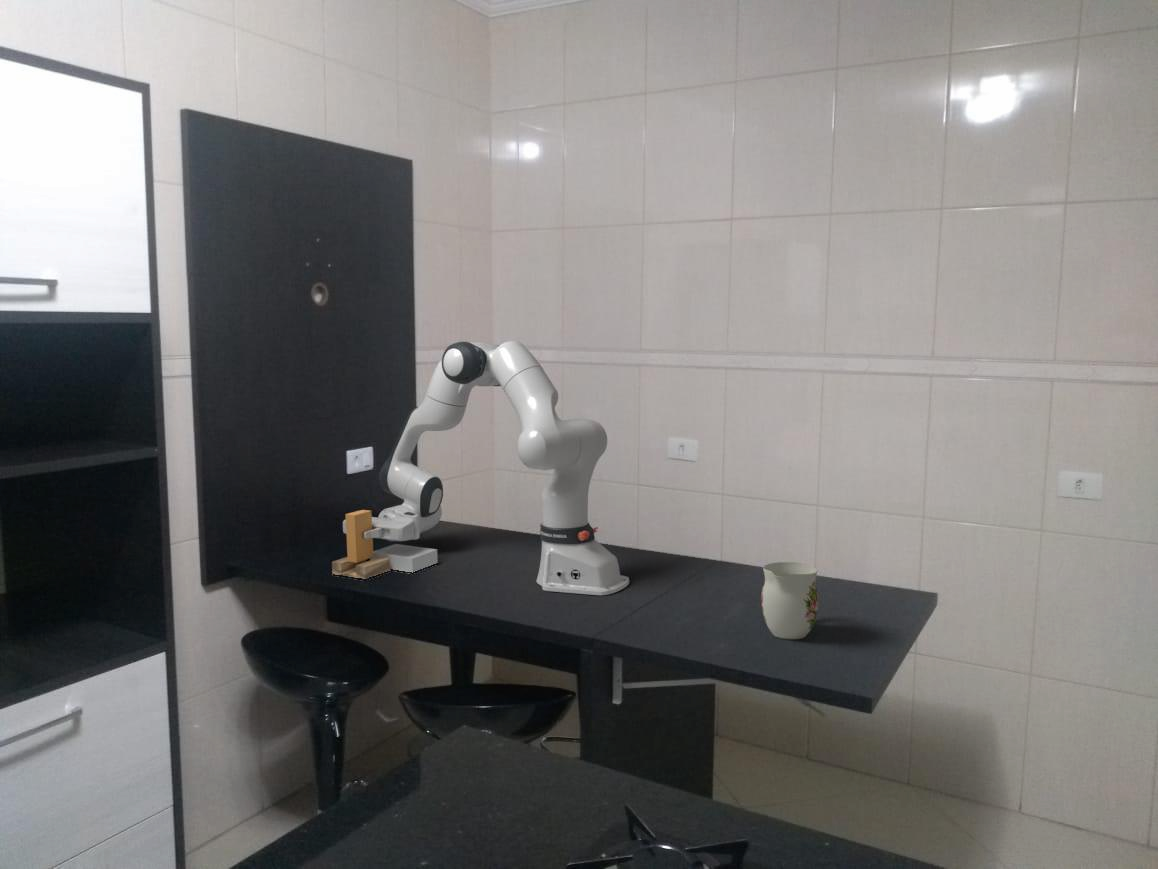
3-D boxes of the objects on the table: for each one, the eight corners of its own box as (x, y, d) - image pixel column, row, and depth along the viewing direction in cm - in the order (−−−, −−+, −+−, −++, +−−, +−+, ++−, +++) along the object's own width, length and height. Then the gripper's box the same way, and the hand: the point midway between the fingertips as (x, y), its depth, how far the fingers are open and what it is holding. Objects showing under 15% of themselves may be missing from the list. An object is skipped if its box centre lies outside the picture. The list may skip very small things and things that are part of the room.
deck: (437, 564, 229) (437, 549, 228) (412, 573, 220) (412, 558, 220) (396, 558, 236) (395, 543, 235) (370, 567, 227) (370, 552, 226)
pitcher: (828, 622, 179) (829, 557, 177) (807, 651, 163) (808, 579, 162) (775, 615, 184) (776, 551, 182) (749, 642, 168) (750, 572, 167)
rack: (390, 571, 222) (389, 558, 222) (365, 580, 215) (364, 566, 214) (357, 566, 228) (357, 553, 227) (332, 575, 220) (331, 561, 220)
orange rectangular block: (373, 557, 223) (371, 510, 221) (356, 562, 217) (354, 515, 216) (364, 555, 224) (362, 509, 223) (347, 561, 219) (345, 514, 217)
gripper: (364, 508, 236) (326, 518, 224) (423, 515, 226) (387, 526, 214) (365, 531, 237) (327, 542, 225) (424, 539, 227) (388, 551, 215)
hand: (357, 534), depth 219 cm, fingers closed on orange rectangular block, 3 cm apart
